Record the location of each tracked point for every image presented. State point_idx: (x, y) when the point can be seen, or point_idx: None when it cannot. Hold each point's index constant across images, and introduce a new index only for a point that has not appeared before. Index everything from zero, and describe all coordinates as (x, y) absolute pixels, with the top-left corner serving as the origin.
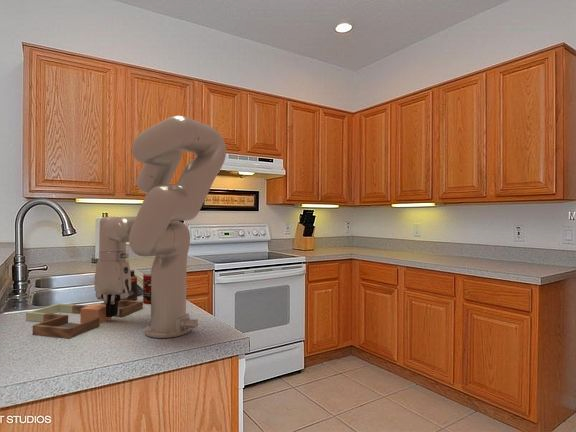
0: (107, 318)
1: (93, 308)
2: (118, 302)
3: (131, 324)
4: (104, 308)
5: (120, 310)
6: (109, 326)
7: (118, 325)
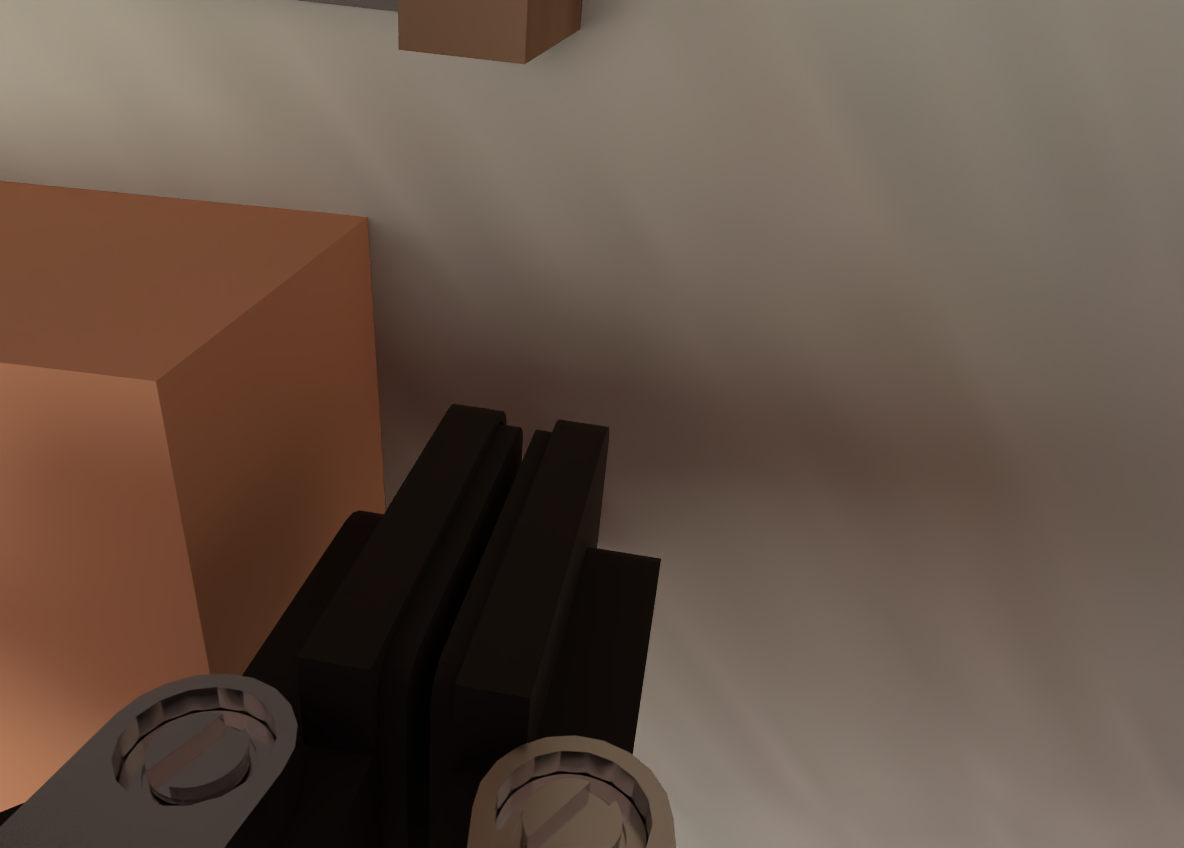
0: (362, 376)
1: (23, 800)
2: (633, 790)
3: (1173, 624)
4: (233, 673)
5: (465, 50)
6: (724, 746)
7: (882, 691)
